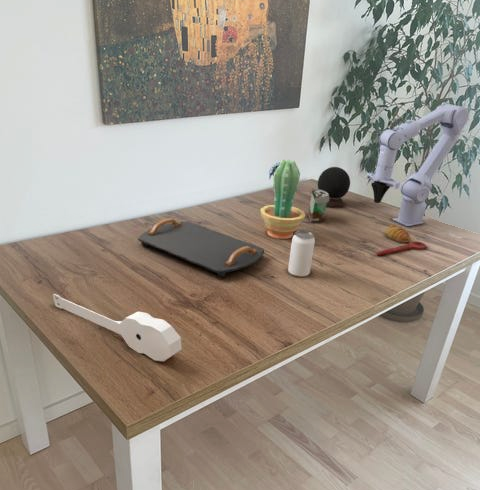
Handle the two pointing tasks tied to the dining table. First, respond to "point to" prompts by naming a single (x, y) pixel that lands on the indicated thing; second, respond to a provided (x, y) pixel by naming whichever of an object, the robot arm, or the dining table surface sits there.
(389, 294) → the dining table surface
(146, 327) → the white toy guitar
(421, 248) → the spoon
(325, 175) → the black ball on stand
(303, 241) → the can
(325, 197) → the food container
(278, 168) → the potted cactus
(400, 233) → the pastry
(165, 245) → the serving tray
